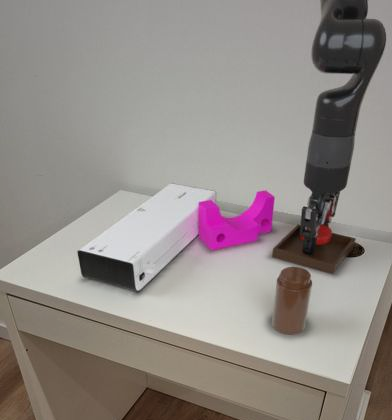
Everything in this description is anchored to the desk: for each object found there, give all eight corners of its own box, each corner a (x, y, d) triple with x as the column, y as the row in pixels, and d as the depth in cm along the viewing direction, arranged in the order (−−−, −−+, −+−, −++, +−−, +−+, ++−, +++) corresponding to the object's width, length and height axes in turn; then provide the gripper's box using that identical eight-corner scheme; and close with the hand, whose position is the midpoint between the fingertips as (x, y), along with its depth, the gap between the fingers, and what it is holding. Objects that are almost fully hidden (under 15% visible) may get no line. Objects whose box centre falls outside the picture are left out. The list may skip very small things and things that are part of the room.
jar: (266, 318, 77) (271, 268, 71) (295, 312, 79) (303, 262, 73) (280, 337, 74) (287, 286, 68) (310, 330, 75) (320, 280, 69)
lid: (335, 235, 93) (336, 227, 92) (324, 247, 89) (326, 240, 88) (307, 228, 95) (308, 221, 94) (295, 239, 91) (296, 232, 91)
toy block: (211, 250, 95) (211, 214, 90) (198, 236, 99) (198, 202, 94) (277, 236, 99) (281, 201, 94) (262, 224, 104) (265, 190, 99)
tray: (296, 232, 101) (297, 224, 99) (354, 246, 96) (356, 238, 94) (272, 257, 93) (273, 248, 91) (333, 274, 88) (335, 265, 86)
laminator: (171, 209, 110) (170, 182, 106) (220, 219, 106) (221, 191, 102) (82, 281, 86) (76, 250, 82) (141, 297, 82) (138, 265, 78)
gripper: (335, 176, 76) (319, 268, 87) (363, 150, 86) (344, 237, 97) (292, 167, 80) (281, 258, 90) (323, 143, 89) (309, 228, 100)
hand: (314, 246), depth 93 cm, fingers closed on lid, 5 cm apart
